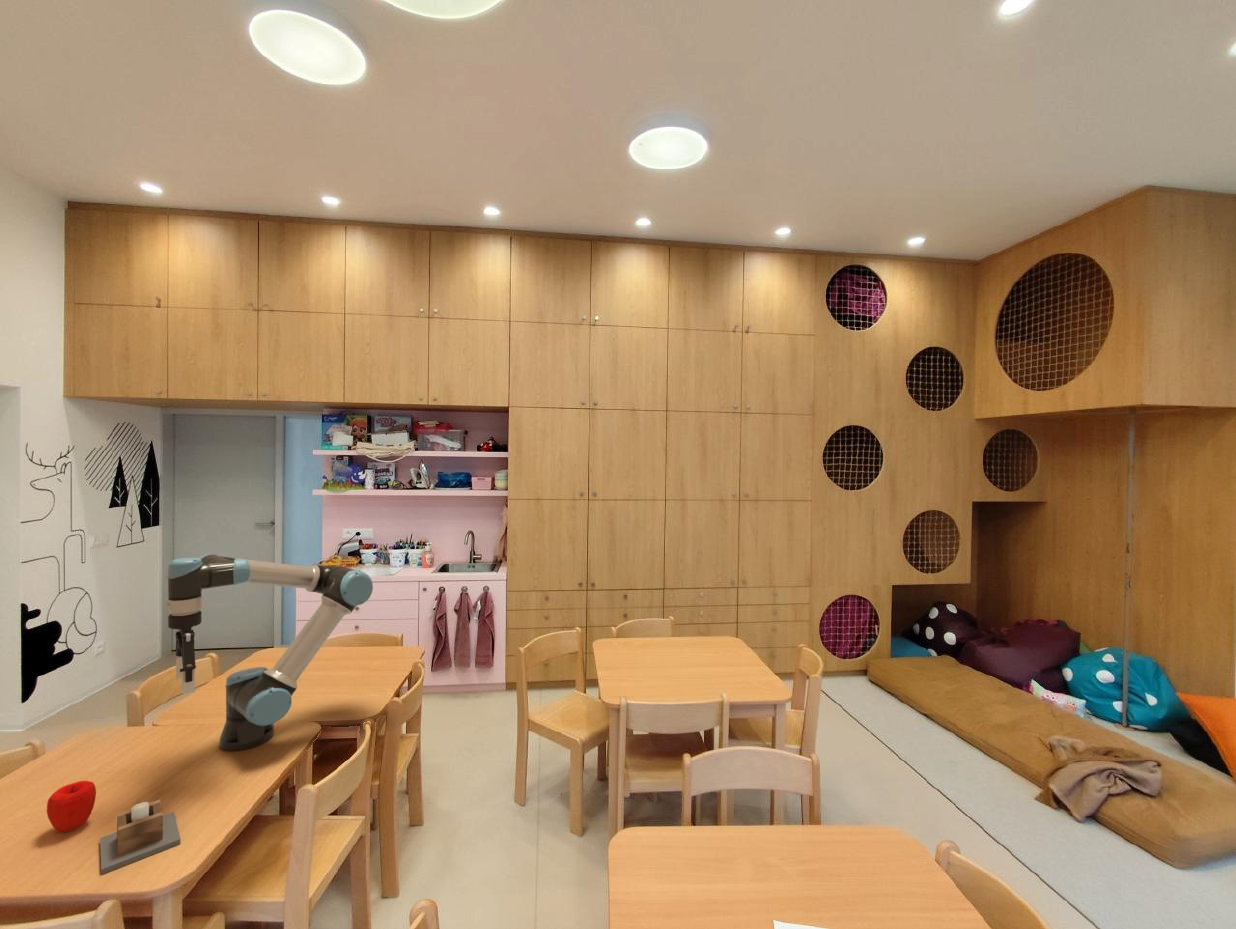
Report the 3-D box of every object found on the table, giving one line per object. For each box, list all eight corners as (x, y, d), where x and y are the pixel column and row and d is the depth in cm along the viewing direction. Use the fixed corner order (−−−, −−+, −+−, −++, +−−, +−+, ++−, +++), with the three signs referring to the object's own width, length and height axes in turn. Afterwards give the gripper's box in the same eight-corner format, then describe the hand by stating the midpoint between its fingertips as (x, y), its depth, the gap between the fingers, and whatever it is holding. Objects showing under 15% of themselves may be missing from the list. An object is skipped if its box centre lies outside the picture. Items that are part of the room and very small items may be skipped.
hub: (159, 822, 137) (159, 799, 137) (162, 838, 131) (162, 814, 131) (116, 838, 131) (116, 814, 131) (118, 855, 126) (118, 830, 125)
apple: (64, 842, 131) (64, 799, 131) (36, 838, 133) (36, 795, 132) (105, 818, 140) (105, 777, 140) (78, 814, 141) (78, 774, 141)
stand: (173, 816, 141) (173, 781, 141) (180, 843, 131) (180, 806, 131) (100, 842, 131) (100, 805, 131) (101, 874, 121) (101, 834, 121)
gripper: (163, 605, 161) (163, 675, 161) (173, 625, 143) (173, 703, 143) (195, 601, 166) (195, 668, 166) (208, 619, 148) (208, 694, 149)
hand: (185, 685), depth 155 cm, fingers open, 13 cm apart
